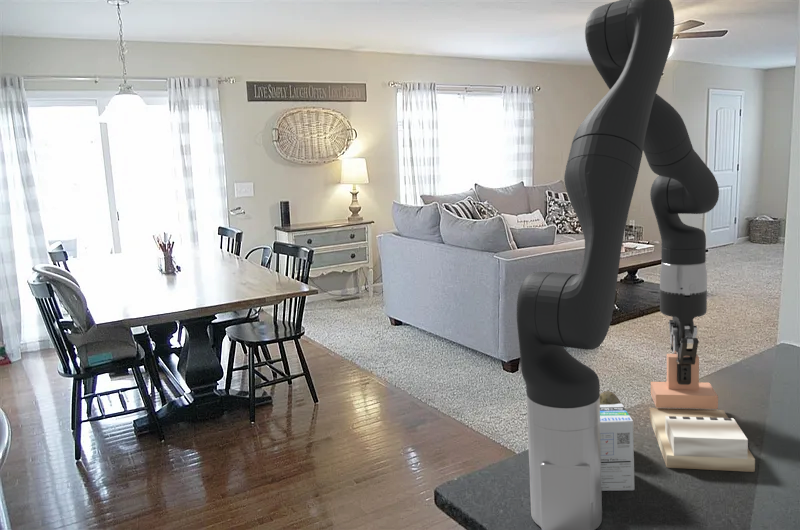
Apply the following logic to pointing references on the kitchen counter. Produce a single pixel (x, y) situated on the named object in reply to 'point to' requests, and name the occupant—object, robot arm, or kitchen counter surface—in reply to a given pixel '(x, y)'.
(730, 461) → the pad
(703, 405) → the stub
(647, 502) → the kitchen counter surface
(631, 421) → the light bulb box
